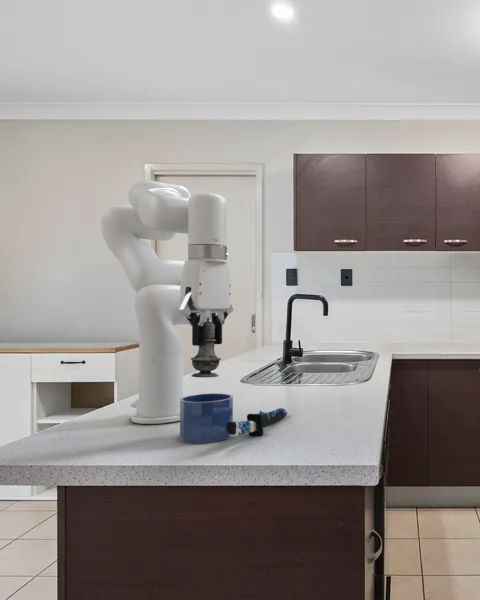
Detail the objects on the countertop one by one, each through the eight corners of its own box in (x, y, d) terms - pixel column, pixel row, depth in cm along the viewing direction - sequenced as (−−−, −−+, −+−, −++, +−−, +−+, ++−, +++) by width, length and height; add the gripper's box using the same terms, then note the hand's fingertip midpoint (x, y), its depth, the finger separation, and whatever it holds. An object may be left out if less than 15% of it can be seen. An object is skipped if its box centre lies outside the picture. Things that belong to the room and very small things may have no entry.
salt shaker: (226, 375, 107) (229, 318, 108) (207, 378, 102) (210, 317, 102) (203, 374, 109) (206, 317, 110) (183, 376, 103) (186, 316, 104)
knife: (231, 445, 94) (233, 420, 95) (216, 444, 95) (218, 419, 95) (296, 425, 124) (297, 406, 125) (285, 424, 125) (286, 405, 125)
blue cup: (169, 440, 103) (169, 399, 103) (206, 428, 112) (206, 392, 112) (207, 445, 99) (207, 404, 99) (242, 433, 108) (242, 395, 108)
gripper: (222, 259, 115) (222, 341, 115) (160, 252, 100) (160, 347, 100) (249, 258, 112) (249, 342, 112) (189, 251, 97) (189, 348, 97)
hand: (207, 343), depth 106 cm, fingers closed on salt shaker, 3 cm apart
